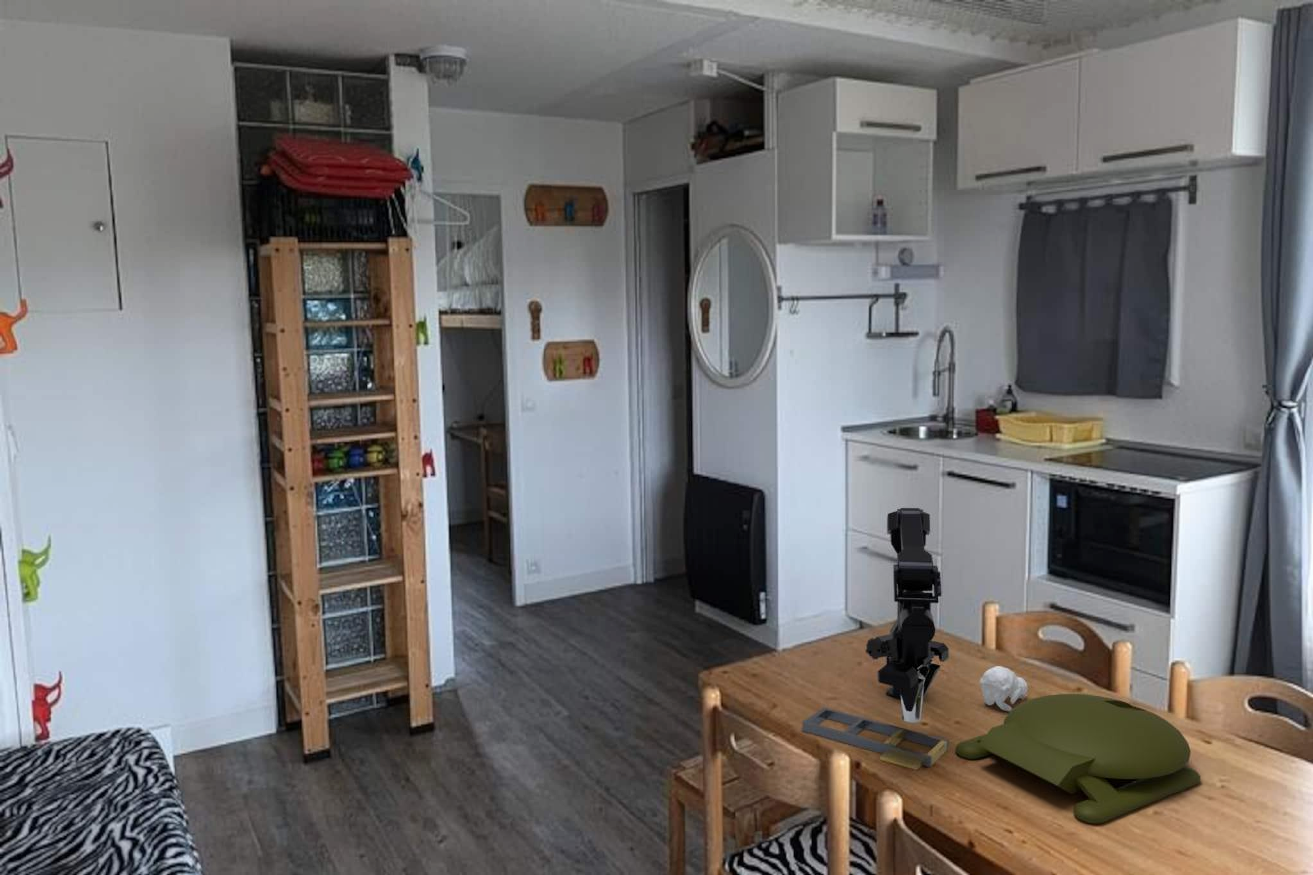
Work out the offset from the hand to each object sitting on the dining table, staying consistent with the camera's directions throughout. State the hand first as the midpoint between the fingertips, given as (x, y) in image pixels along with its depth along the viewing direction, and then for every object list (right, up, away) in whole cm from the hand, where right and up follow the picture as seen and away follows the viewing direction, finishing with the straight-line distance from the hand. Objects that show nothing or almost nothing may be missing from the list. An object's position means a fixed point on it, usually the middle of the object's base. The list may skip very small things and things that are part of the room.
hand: (913, 707), depth 179 cm
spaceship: (+29, -9, -5) cm, 31 cm away
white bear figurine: (+25, -5, +21) cm, 33 cm away
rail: (-6, -8, +6) cm, 12 cm away
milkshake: (0, -3, +1) cm, 3 cm away
